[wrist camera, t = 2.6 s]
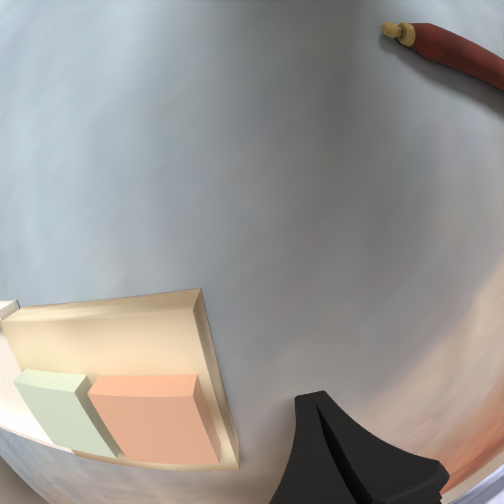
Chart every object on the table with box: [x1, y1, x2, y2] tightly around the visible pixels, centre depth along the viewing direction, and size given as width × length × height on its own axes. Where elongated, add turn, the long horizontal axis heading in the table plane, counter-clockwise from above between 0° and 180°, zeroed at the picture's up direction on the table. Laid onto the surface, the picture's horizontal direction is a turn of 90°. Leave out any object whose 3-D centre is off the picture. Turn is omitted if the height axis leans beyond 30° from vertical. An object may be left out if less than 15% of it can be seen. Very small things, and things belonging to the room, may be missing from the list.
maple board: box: [0, 288, 240, 471], centre depth 12 cm, size 11×12×2 cm
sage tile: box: [13, 369, 121, 458], centre depth 10 cm, size 5×5×2 cm
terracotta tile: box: [87, 374, 221, 465], centre depth 11 cm, size 5×5×2 cm
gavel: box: [382, 22, 504, 91], centre depth 9 cm, size 21×5×10 cm
